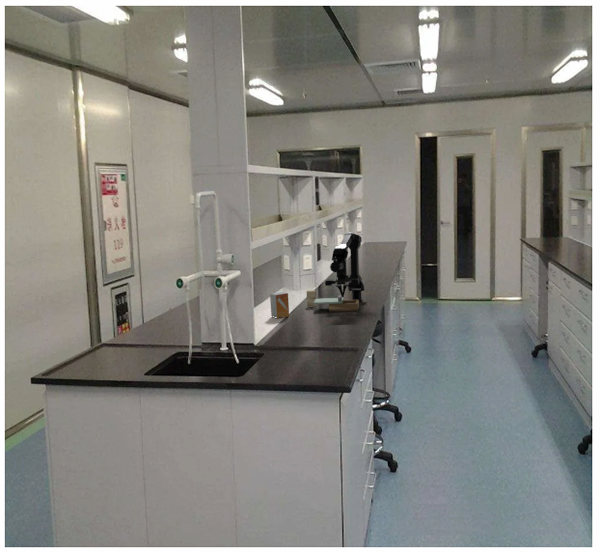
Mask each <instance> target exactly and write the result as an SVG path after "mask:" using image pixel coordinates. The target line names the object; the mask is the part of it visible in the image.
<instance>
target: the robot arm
mask: <svg viewBox="0 0 600 553" xmlns="http://www.w3.org/2000/svg"><path fill="white" fill-rule="evenodd" d="M361 246H362V236H360V235H359V234H357V233H354V232H345V233H344V236H343V239H342V240H341V242H340V243H339V245H337V246H335V248H334V249H333V251H332V256H331V261H332V262H331V263H330V266H329V268H330V270H331V272H333V273H336V276H335V278H336V279H335V280H333V278H331V279H325V281H324V284H325V287H328V286H329V287H330V286H332V285H335V287H336V288H338V291H339V293H340V295H341V296H342V298H344V296H345V293H346V289H347V288H348V292H351V300H359V302H363V296H362V292H364V291H365V285H364V283H363V279H362V277H361V275H360V272H359V271H360V269H359V268H360V267H359V266H360V265H359V262H360V261H359V249H360V248H361ZM348 249H349V250H350V275H348V272H347V269H348V268H347V259H348V257H349V256H348V255H349V250H348Z"/></svg>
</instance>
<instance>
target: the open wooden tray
mask: <svg viewBox="0 0 600 553" xmlns="http://www.w3.org/2000/svg"><path fill="white" fill-rule="evenodd" d="M359 307H360V301H359V300H352V299H344V300H343V302H342V303H340V304H328V311H329V312H356V311H359Z"/></svg>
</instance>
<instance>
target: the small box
mask: <svg viewBox="0 0 600 553" xmlns="http://www.w3.org/2000/svg"><path fill="white" fill-rule="evenodd" d="M269 299H270V312H271V313H270V316H274V317H277V318H276V319H279V317H281V318H287V317H290V308H289V303H290V302H289V293H288V292H285V291H279V292H273V293H269ZM274 317H273V318H274Z"/></svg>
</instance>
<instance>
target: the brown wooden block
mask: <svg viewBox="0 0 600 553" xmlns="http://www.w3.org/2000/svg"><path fill="white" fill-rule="evenodd" d="M316 299H317V290H316V289H315V290H314V289H309V290H306V304H307V306H306V307H307V308H309V307H311V308H313V307H316V306H317V305H318V304H314V301H315V300H316Z"/></svg>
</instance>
